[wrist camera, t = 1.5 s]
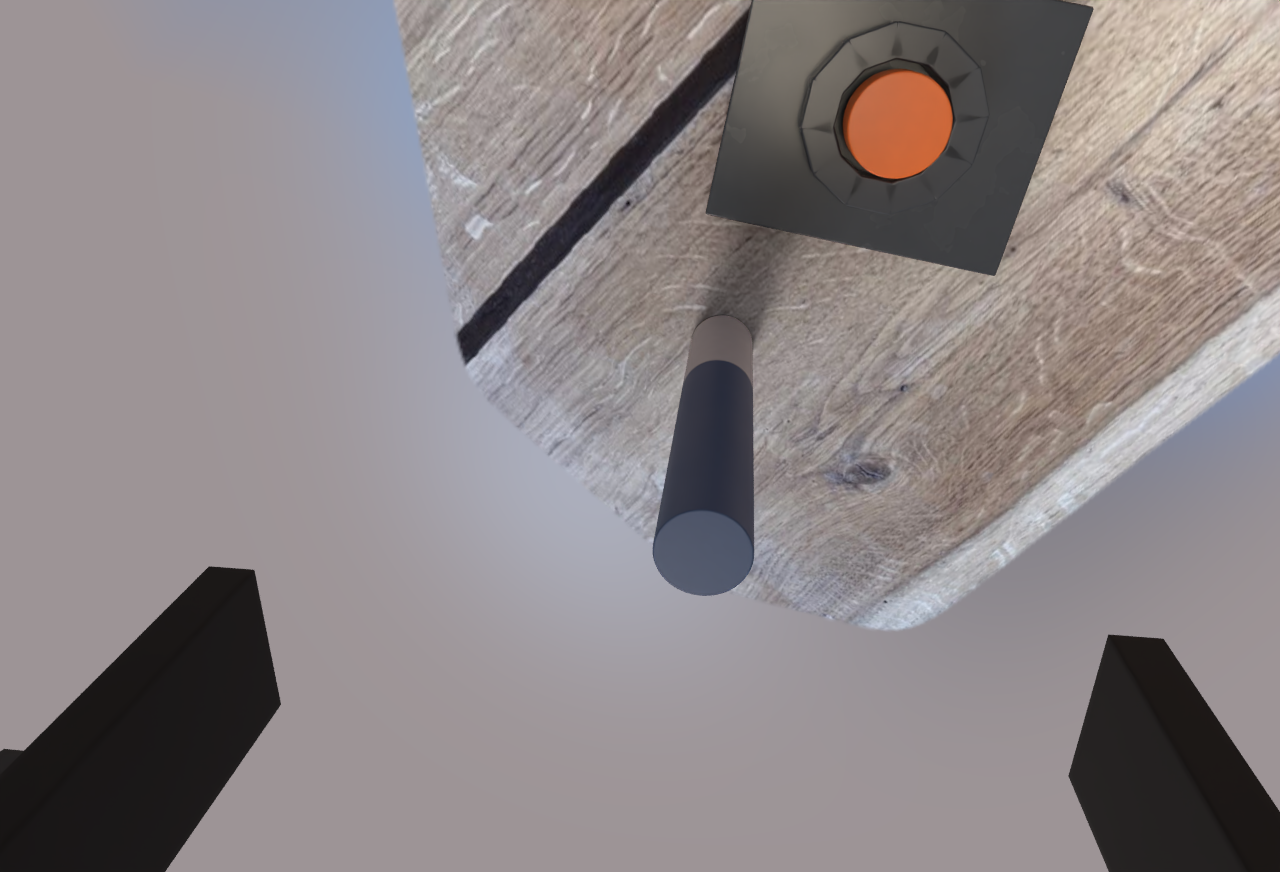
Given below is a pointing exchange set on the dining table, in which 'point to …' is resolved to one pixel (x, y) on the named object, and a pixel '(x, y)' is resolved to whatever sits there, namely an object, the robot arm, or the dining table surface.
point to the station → (831, 72)
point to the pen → (711, 466)
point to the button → (897, 123)
